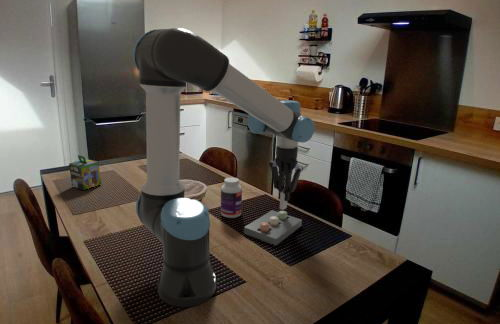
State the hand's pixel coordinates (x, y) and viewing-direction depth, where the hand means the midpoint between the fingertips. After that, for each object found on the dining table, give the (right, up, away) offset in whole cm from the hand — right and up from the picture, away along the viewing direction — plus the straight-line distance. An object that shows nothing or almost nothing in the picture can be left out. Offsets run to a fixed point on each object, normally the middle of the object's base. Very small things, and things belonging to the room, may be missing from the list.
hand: (283, 208), depth 127 cm
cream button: (-4, -6, -3) cm, 8 cm away
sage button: (0, -4, +1) cm, 5 cm away
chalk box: (-87, +6, +32) cm, 93 cm away
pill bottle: (-20, -4, +8) cm, 21 cm away
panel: (-4, -7, -3) cm, 9 cm away
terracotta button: (-7, -7, -8) cm, 13 cm away
